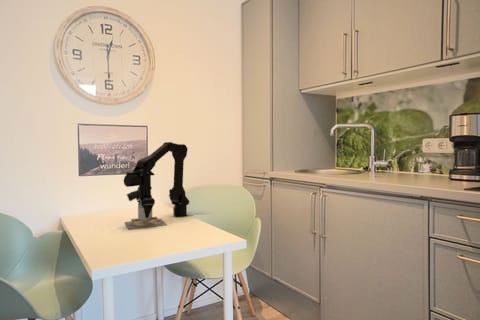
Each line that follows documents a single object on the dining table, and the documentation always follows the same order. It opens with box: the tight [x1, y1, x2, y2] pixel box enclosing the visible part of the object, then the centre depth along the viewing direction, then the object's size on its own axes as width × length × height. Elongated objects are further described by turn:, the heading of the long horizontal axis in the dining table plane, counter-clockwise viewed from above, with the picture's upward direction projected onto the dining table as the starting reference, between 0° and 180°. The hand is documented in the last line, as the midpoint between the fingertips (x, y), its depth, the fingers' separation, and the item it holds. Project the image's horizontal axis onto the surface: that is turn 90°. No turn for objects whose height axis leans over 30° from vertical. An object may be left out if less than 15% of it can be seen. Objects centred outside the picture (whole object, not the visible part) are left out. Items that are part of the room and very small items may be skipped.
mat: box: [124, 218, 168, 231], centre depth 163 cm, size 18×16×1 cm
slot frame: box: [130, 216, 160, 226], centre depth 163 cm, size 12×8×2 cm
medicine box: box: [137, 203, 153, 221], centre depth 163 cm, size 8×4×9 cm, turn 174°
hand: (145, 216), depth 163 cm, fingers closed on medicine box, 9 cm apart
